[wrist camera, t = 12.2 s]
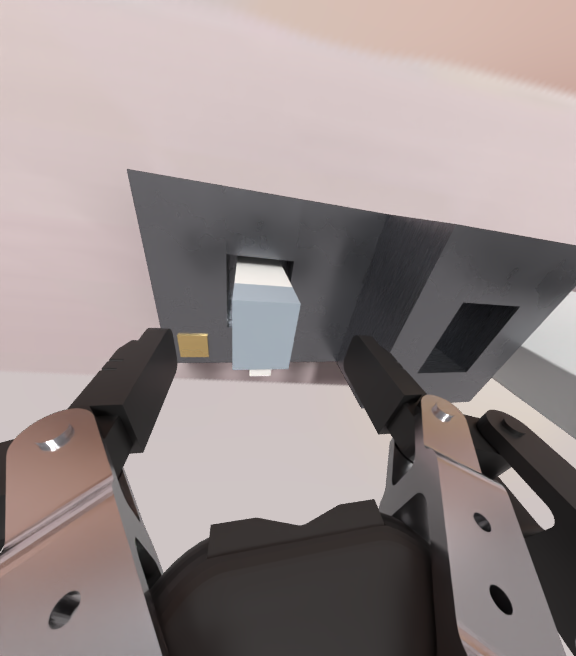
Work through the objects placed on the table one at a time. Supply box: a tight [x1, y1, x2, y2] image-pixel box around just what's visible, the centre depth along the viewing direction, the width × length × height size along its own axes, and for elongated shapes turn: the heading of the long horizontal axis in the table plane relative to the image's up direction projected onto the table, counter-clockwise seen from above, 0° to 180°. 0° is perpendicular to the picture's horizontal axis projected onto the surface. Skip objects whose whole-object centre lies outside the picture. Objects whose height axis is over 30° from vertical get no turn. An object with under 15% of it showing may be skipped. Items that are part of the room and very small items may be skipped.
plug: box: [232, 256, 301, 376], centre depth 14 cm, size 3×5×8 cm, turn 172°
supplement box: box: [492, 291, 576, 439], centre depth 19 cm, size 7×7×13 cm
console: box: [127, 169, 576, 408], centre depth 15 cm, size 24×12×9 cm, turn 82°
